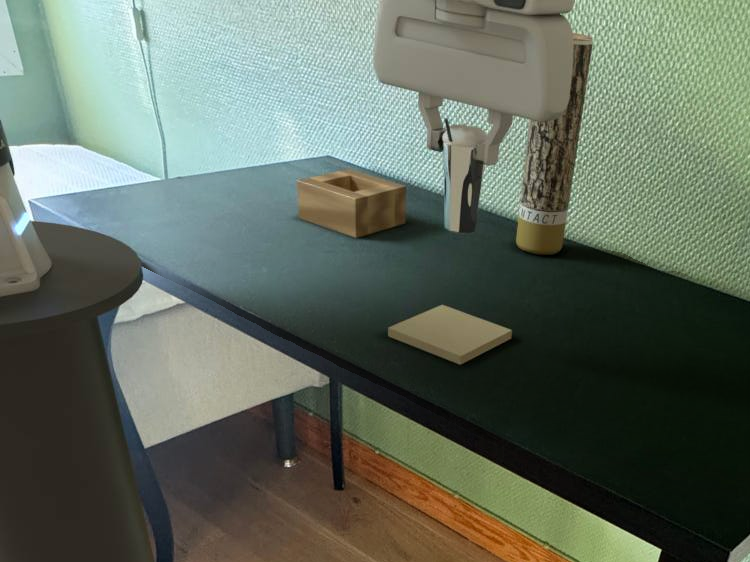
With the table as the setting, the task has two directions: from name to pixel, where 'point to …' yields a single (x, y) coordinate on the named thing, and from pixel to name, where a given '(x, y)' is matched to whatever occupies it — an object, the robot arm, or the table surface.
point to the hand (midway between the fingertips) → (462, 157)
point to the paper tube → (552, 165)
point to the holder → (351, 202)
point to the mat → (450, 334)
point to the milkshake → (461, 176)
